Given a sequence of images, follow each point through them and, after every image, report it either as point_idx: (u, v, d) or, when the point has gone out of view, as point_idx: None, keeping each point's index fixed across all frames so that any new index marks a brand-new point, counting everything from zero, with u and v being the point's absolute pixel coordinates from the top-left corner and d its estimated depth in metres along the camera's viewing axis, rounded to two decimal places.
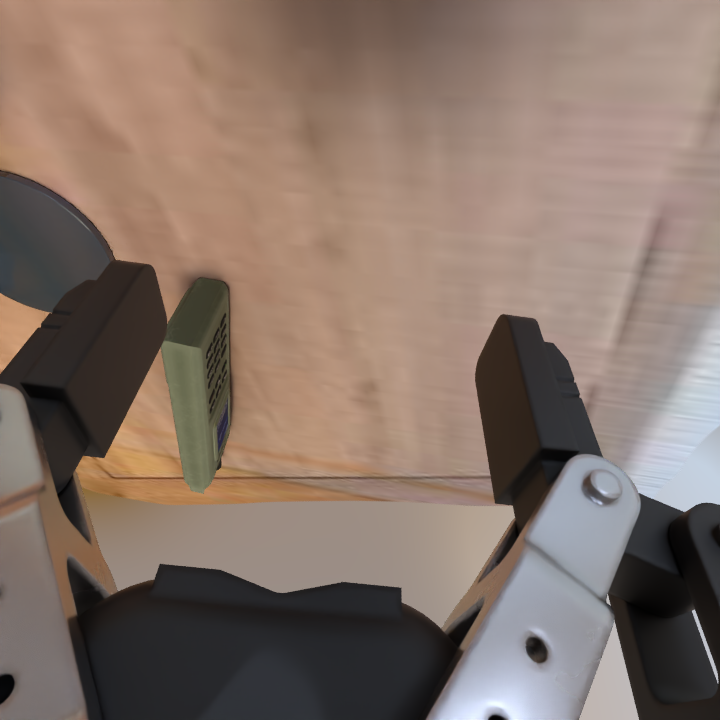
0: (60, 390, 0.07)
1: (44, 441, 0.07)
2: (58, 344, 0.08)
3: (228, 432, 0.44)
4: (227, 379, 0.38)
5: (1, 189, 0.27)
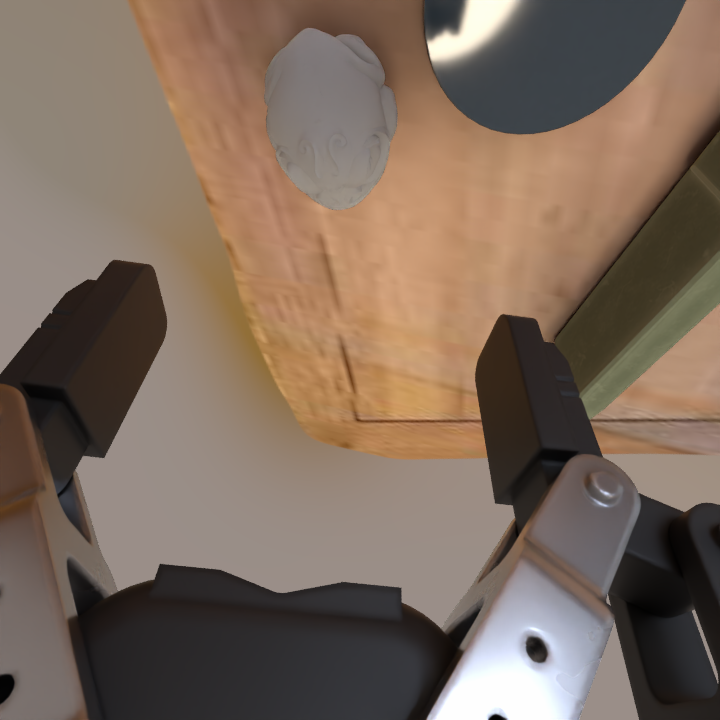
0: (60, 390, 0.07)
1: (44, 441, 0.07)
2: (58, 344, 0.08)
3: None
4: None
5: None
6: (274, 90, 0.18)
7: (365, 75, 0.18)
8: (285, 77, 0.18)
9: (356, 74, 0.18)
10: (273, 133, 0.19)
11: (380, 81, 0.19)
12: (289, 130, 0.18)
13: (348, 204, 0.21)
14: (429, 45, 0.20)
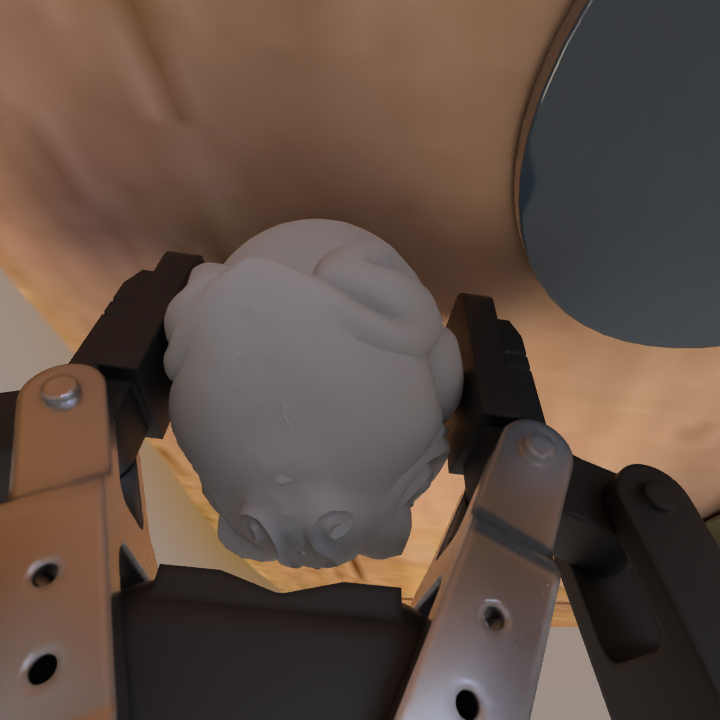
0: (133, 371, 0.08)
1: (119, 419, 0.07)
2: (127, 329, 0.08)
3: None
4: None
5: None
6: (176, 380, 0.08)
7: (402, 355, 0.07)
8: (195, 371, 0.07)
9: (380, 366, 0.07)
10: None
11: (434, 346, 0.08)
12: (215, 475, 0.08)
13: None
14: (525, 219, 0.10)
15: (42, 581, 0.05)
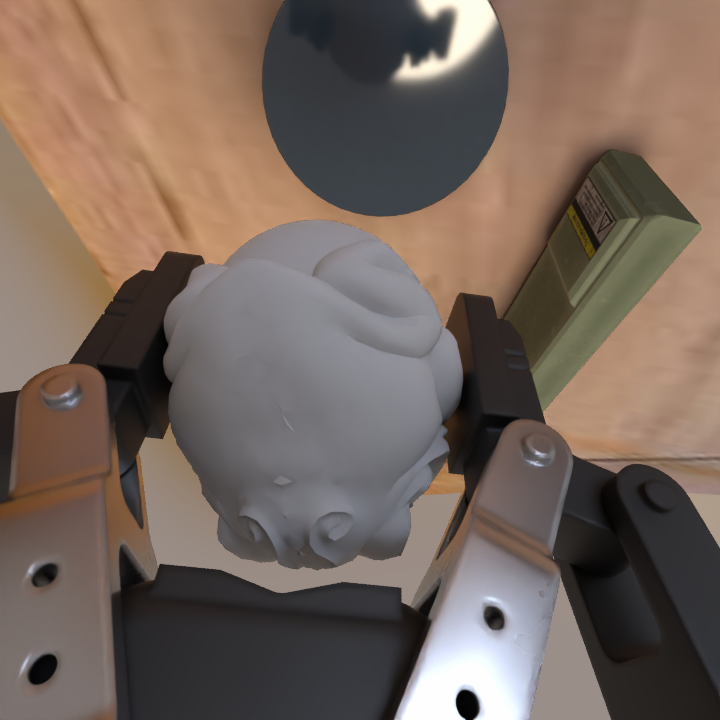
0: (133, 371, 0.08)
1: (119, 419, 0.07)
2: (127, 329, 0.08)
3: None
4: None
5: None
6: (175, 381, 0.08)
7: (401, 356, 0.07)
8: (196, 372, 0.07)
9: (380, 367, 0.07)
10: (183, 453, 0.08)
11: (433, 347, 0.08)
12: (214, 476, 0.08)
13: None
14: (277, 143, 0.22)
15: (42, 581, 0.05)
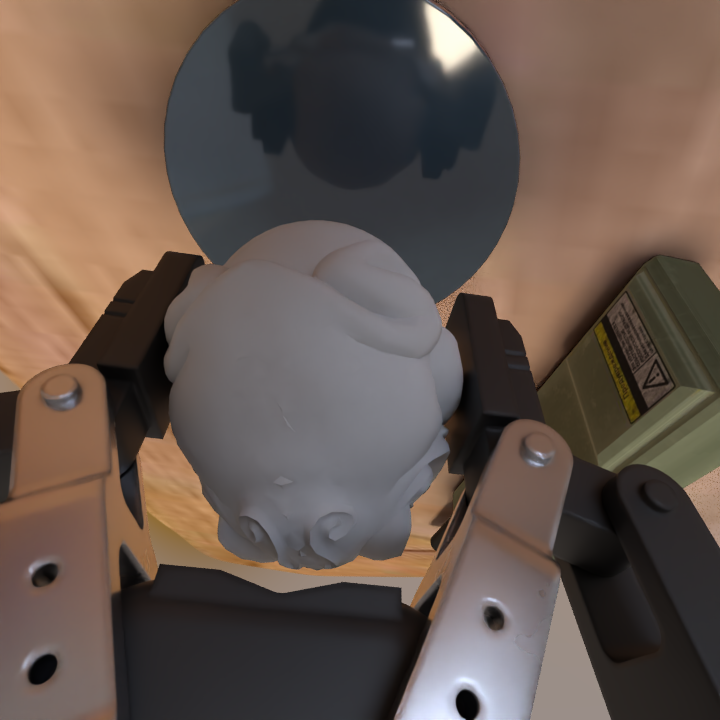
0: (133, 371, 0.08)
1: (119, 419, 0.07)
2: (127, 329, 0.08)
3: None
4: None
5: (372, 26, 0.11)
6: (176, 382, 0.08)
7: (401, 356, 0.07)
8: (196, 373, 0.07)
9: (380, 368, 0.07)
10: (184, 454, 0.08)
11: (433, 347, 0.08)
12: (215, 476, 0.08)
13: None
14: (198, 241, 0.16)
15: (42, 581, 0.05)
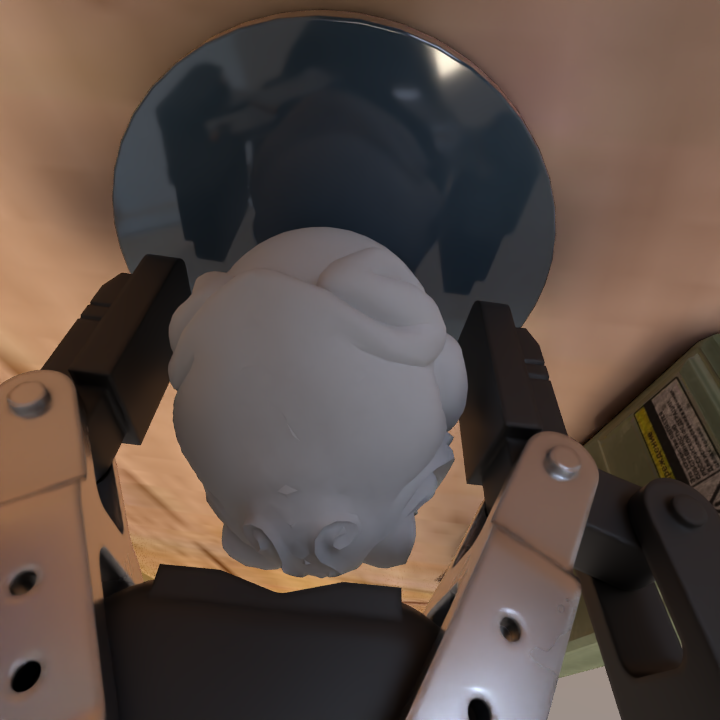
0: (105, 377, 0.07)
1: (91, 426, 0.07)
2: (101, 334, 0.08)
3: None
4: None
5: (370, 82, 0.08)
6: (181, 389, 0.08)
7: (406, 365, 0.07)
8: (200, 382, 0.07)
9: (384, 376, 0.07)
10: (188, 461, 0.08)
11: (438, 355, 0.08)
12: (219, 484, 0.08)
13: None
14: None
15: (20, 589, 0.05)
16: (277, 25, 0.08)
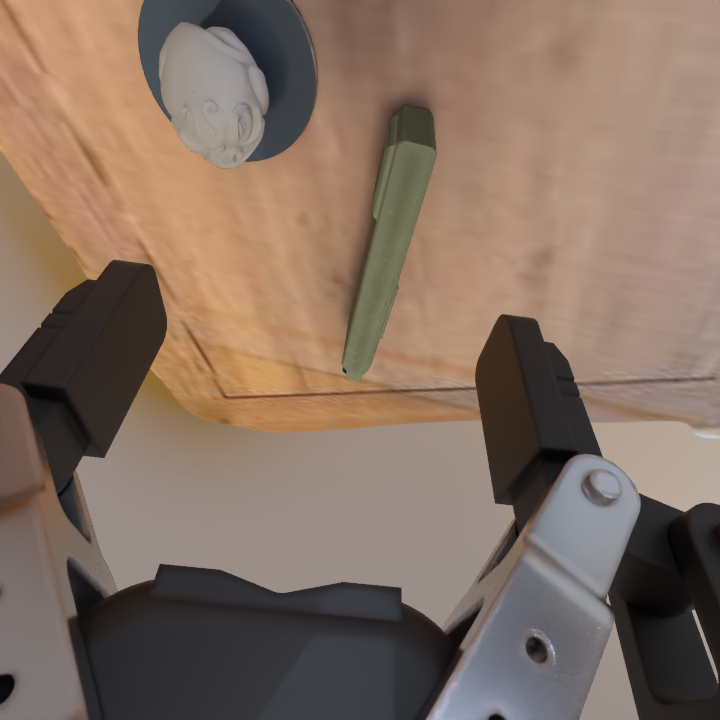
0: (60, 390, 0.07)
1: (44, 441, 0.07)
2: (58, 344, 0.08)
3: None
4: None
5: None
6: (162, 71, 0.24)
7: (230, 57, 0.23)
8: (167, 60, 0.23)
9: (222, 56, 0.23)
10: (165, 105, 0.24)
11: (246, 62, 0.24)
12: (175, 101, 0.24)
13: (234, 163, 0.26)
14: (159, 103, 0.29)
15: None
16: None
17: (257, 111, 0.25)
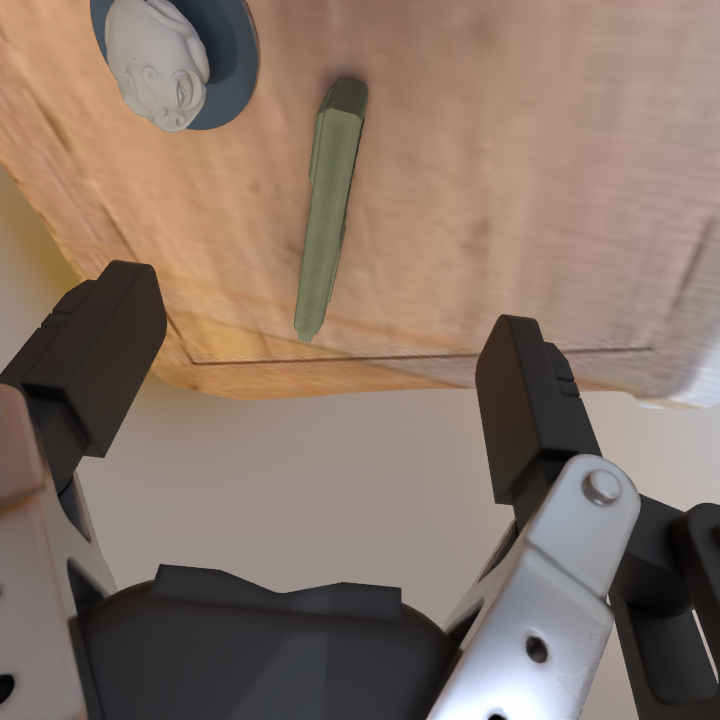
0: (60, 390, 0.07)
1: (44, 441, 0.07)
2: (58, 344, 0.08)
3: None
4: (345, 212, 0.38)
5: None
6: (107, 39, 0.26)
7: (169, 26, 0.25)
8: (111, 28, 0.25)
9: (160, 26, 0.25)
10: (111, 71, 0.27)
11: (184, 32, 0.26)
12: (118, 67, 0.26)
13: (178, 127, 0.29)
14: None
15: None
16: None
17: (196, 78, 0.27)
